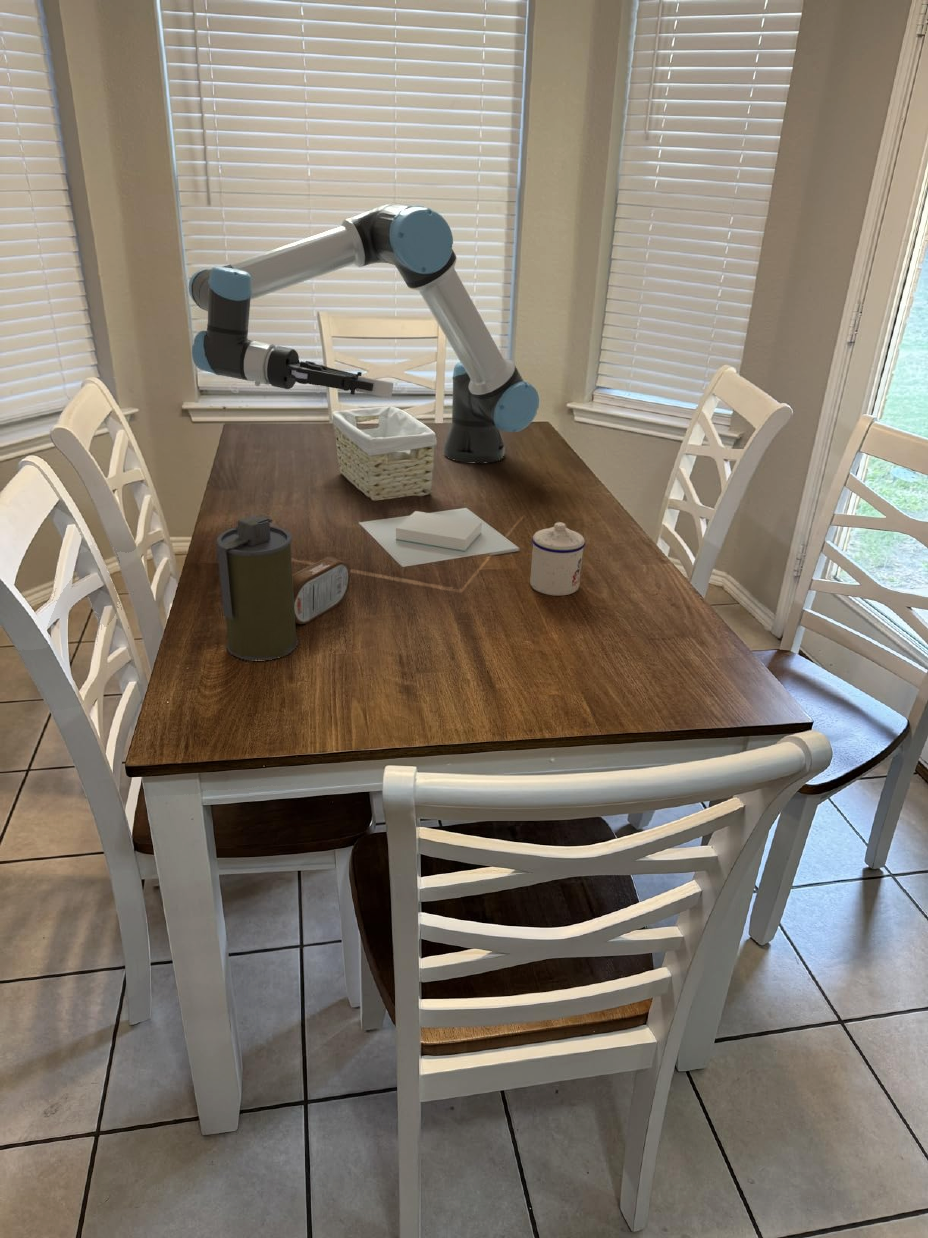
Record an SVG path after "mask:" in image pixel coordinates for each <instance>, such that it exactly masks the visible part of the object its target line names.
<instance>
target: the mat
mask: <svg viewBox="0 0 928 1238" xmlns="http://www.w3.org/2000/svg"><path fill="white" fill-rule="evenodd" d="M430 513H431V514H437V515H444V516H450V517H456V518H462V519H468V520H475V521H481V522H482V529H481V534H480V536H479V537H478V538H477V539H476V540H475V541H474V542H473V543H472V544H471V546H470V547H469V548H468V549H467V550H466V551H465V552H462V551H456V550H450V549H444V548H438V547H433V546H427V545H421V544H415V543H409V542H404V541H398V540H396V527H398V526H399V525H400V524H401V523H402V522H403V521H404V520H406V519H407V518H408V517H409V516H410V515H405V516H397V517H390V518H381V519H374V520H367V521H362V522H361V521H359V522H358V524H359V525H360V526H361V527H362V528H363V529H364V530H365V531H366V532H367V533H368V534H369V535H370V536H371V537H372V538H373V539H374V540H375V541H376V542H377V543H378V544H379V545H380V546H381V547H382V549H384V550H385V552H386V553H388V555H390V556H391V557H392V558H393V560H395V561H396V563H398V564H399V566H401V567H402V568H406V567H411V566H418V565H425V564H431V563H435V562H436V563H437V562H443V561H449V560H455V559H460V558H467V557H473V556H479V555H480V556H481V555H484V554H486V555H487V554H488V555H487V556H489V557H490V556H496V555H501V554H508V553H514V552H520V547H518V546H517V545H516V544H515V543H513V542H512V541H510V540H509V539H508V538H507V537H505V536H504V535H503V534H502V533H500V532H499V531H497V530H496V529H495V528H493V527H492V526H491V525H489V524H488V523H487V522H486V521H484V520H483V519H481V517H479V516H478V515H476V514H475V513H474V512H473V511H471V510H470V509H468V508H467V507H463V508H456V509H448V510H442V511H440V510H439V511H431V512H430Z"/></svg>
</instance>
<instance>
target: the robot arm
mask: <svg viewBox="0 0 928 1238" xmlns="http://www.w3.org/2000/svg"><path fill="white" fill-rule="evenodd" d="M453 238H454V237H453V232H452V230H451V228H450V225H449V223H448V222H447V220H446V218H444V217H443V216H442V215H441V214H440V213H438V212H437V211H435V210H433V209H431V208H429V207H427V206H423V205H409V204H402V203H399V202H398V203H397V202H395V203H394V202H392V203H387V204H383V205H380V206H377V207H375V208H372V209H370V210H369V209H368V210H366V211H364V212H362V213H359V214H357V215H354V216H352V217H348V218H345V219H344V220H342V223H341V225H340V226H338V227H337V228H333V229H330V230H326V231H324V232H322V233H318V234H316V235H311V236H309V237H306V238H303V239H301V240H298V241H295V242H291V243H289V244H285V245H283V246H280V247H277V248H274V249H271V250H267V251H265V252H262V253H258V254H256V255H253V256H249V257H247V258H244V259H242V260H238V261H235V262H233V263H230V264H227V265H224V266H214V267H212V268H209V269H208V268H206V269H201V270H197V271H196V272H195V273H193V275H192V276H191V277H190V279H189V282H188V293H189V296H190V298H191V300H192V301H193V302H194V303H195V305H197V307H198V308H200V309H202V310H203V311H206V312H207V328H206V330H200V331H199V332H197V334H196V335H195V336H194V337H193V338H194V339H193V344H192V346H191V357H192V361H193V363H194V366H196V368H197V369H199V370H200V371H204V372H208V373H211V374H214V375H216V376H221V377H227V378H234V379H237V380H244V381H248V382H254V385H255V386H256V387H259V386H260V385H261V384H263V385H266V386H267V385H268V386H269V385H271V387H275V388H280V389H285V390H290V389H292V388H293V387H294V386H295V385H296V383H298V384H301V385H308V384H309V385H312V386H318V387H319V386H320V387H327V388H332V389H338V390H343V391H346V392H348V391H350V395H353V396H354V395H355V394H356V392H359V393H363V394H369V395H372V396H378V397H383V398H388V399H391V398H392V395H393V390H394V389H393V388H394V382H390V381H385V380H381V379H377V378H371V377H368V376H367V377H366V376H362V374H363V372H361V371H358V372H357V373H353V372H348V371H345V370H340V369H337V368H336V369H335V368H333V367H328V366H327V365H323V364H317V363H315V361H309V360H306V361H300V360H299V359H300V356H299V352H297V350H296V349H294V348H289V347H285V346H280V345H277V346H276V345H275V344H273V343H272V344H271V343H269V342H268V343H266V342H263V341H259V340H250V339H249V338H248V337H249V336H248V333H249V325H250V324H249V322H250V312H251V311H250V310H251V301H253V300H255V299H257V298H260V297H264V296H266V295H268V294H269V295H270V294H271V293H275V292H277V291H280V290H284V289H286V288H288V287H292V286H294V285H297V284H300V283H304V282H306V281H309V280H312V279H315V278H317V277H320V276H324V275H327V274H329V273H333V272H336V271H339V270H341V269H345V268H347V267H350V266H352V265H354V266H356V267H357V268H362V267H365V266H368V265H373V264H389V265H392V266H395V268H396V269H397V271H398V272H399V274H400V276H401V277H402V279H403V280H404V283H405V285H406V286H407V287H408V289H411V290H414V291H418V292H419V294H420V295H421V297H422V299H423V300H424V302H425V304H426V305H427V307H428V308H429V310H430V312H431V314H432V315H433V318H434V319H435V321H436V322H437V324H438V325H439V327H440V329H441V332H442V333H443V335H444V336H445V338H446V339H447V341H448V343H449V344H450V347H451V348H452V349H453V351H454V353H455V355H456V357H457V358H458V360H459V362H457V363H456V364H455V365H454V367H453V372H452V373H453V374H452V402H451V403H452V408H451V409H452V411H451V414H452V415H451V424H450V428H449V430H448V434H447V437H446V439H445V442H444V446H443V455H444V454H445V455H446V456H447V457H449V458H450V460H451V459H455V460H458V461H462V462H461V463H463V462H475V463H482V464H485V463H484V462H492V463H495V462H494V461H496V462H498V461H497V460H499V459H501V460H502V458H503V459H504V457H505V444H504V440H503V438H502V434H501V431H504V432H508V433H516V432H520V431H523V430H524V429H526V428H527V427H528V426H530V424H532V422H533V421H534V419H535V418H536V415H537V411H538V410H539V407H540V396H539V393H538V391H537V389H536V387H534V386H533V385H532V384H531V382H528V381H524V379H523V377H522V376H521V373H520V371H519V370H518V368H517V367H516V365H515V363H514V361H513V360H511V359H507V358H504V357H503V355H502V353H501V351H500V349H499V348H498V346H497V344H496V342H495V340H494V339H493V337H492V335H491V333H490V331H489V329H488V327H487V326H486V324H485V322H484V320H483V319H482V317H481V315H480V313H479V311H478V309H477V307H476V305H475V303H474V302H473V300H472V298H471V297H470V295H469V293H468V291H467V289H466V287H465V285H464V283H463V282H462V279H461V278H460V276H459V275H458V272H457V271H456V268H455V266H456V262H457V255H456V253H455V252H454V250H453V244H454V239H453ZM445 455H444V456H445ZM446 456H445V457H446ZM503 456H504V457H503ZM447 457H446V458H447ZM449 458H448V459H449ZM458 461H457V462H458ZM499 461H500V460H499Z"/></svg>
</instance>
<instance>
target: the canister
mask: <svg viewBox="0 0 928 1238" xmlns="http://www.w3.org/2000/svg"><path fill="white" fill-rule="evenodd" d="M272 522H273V519H272V518H269V517H267V516H264V515H262V514H259V515H255V516H252V517H251V516H250V517H249V518H247V517H245V518H241V519H239V520H237V526H236V527H232V528H229V529H227V530H225V531H223V532H222V533H221V534H219V536H218V537H217V538H216V542H215V543H216V550H217V551H216V552H217V561H218V570H219V571H218V572H219V581H220V591H221V601H222V612H223V617H225V622H226V623H225V624H226V633H227V643H226V647H227V648H226V649H227V651H228V653H229V654H230V655H232V654H233V655H234V656H236V657H239V658H242V659H244V660H243V661H245V660H254V661H255V660H257V661H258V660H270V659H276V658H278V657H282V658H284V657H286V656H285V655H286V654H289V653H290V654H291V653H293V652H294V651H295V650H296V649H297V647H298V644H299V639H298V636H297V634H296V633H297V631H296V623H295V612H294V594H293V577H292V575H293V564H292V563H293V562H292V547H291V545H292V541H293V536H292V534H291V533H290V532H289V531H288V530H286V529H285V528H282V527H279V526H274V525H271V524H270V523H272ZM296 646H297V647H296ZM295 648H296V649H295ZM293 650H294V651H293ZM292 651H293V652H292ZM290 654H289V655H290ZM233 655H232V656H233ZM234 656H233V657H234ZM283 656H284V657H283ZM236 657H235V658H236ZM239 658H238V659H239ZM242 659H241V660H242ZM276 660H277V659H276Z"/></svg>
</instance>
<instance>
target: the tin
mask: <svg viewBox="0 0 928 1238" xmlns="http://www.w3.org/2000/svg"><path fill="white" fill-rule="evenodd" d="M292 577H293V594H294V612H295V624H298V625H305V624H308V623H310V622H312V621H314V620H315V619H317V618H319V617H320V616H323V615H324V614H326V613H328V612H329V611H331V610H332V609H334V608H336V607H337V606H339V604H341V603H342V601H343V600H344V598H345V597H346V596H347V594H348V592H349V588H350V580H351V569H350V565H348V564H347V563H346V562H345V561H343V560H340V559H338V558H336V557H334V556H326V557H324V558H322V559H320V560H318V561H317V562H314V563H312V564H310V565H309V566H307V567H304V568H302V569H301V570H299V571H297V572H294V573H292Z"/></svg>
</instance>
